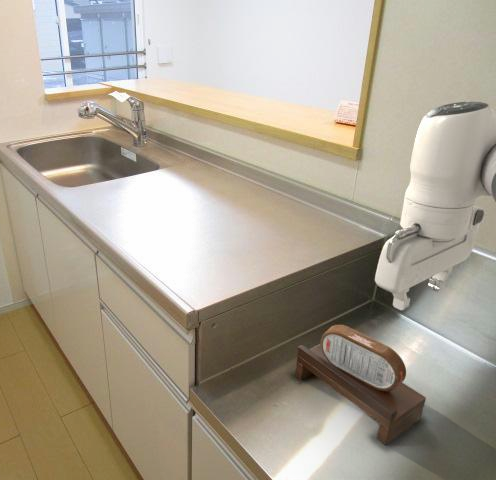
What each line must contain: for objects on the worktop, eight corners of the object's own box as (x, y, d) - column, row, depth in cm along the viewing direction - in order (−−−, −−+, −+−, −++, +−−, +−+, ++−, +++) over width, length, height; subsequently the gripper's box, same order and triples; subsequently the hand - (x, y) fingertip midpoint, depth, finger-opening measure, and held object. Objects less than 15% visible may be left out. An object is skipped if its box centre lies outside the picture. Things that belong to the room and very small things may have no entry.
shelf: (329, 357, 94) (333, 329, 91) (420, 419, 79) (429, 388, 76) (294, 375, 89) (298, 346, 86) (384, 445, 74) (392, 413, 71)
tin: (402, 393, 78) (411, 354, 74) (393, 402, 76) (403, 362, 72) (324, 352, 88) (330, 316, 84) (315, 359, 86) (320, 322, 83)
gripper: (413, 241, 59) (396, 329, 64) (492, 208, 69) (472, 287, 74) (370, 227, 64) (359, 310, 69) (451, 197, 73) (435, 272, 79)
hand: (418, 298), depth 72 cm, fingers open, 8 cm apart
